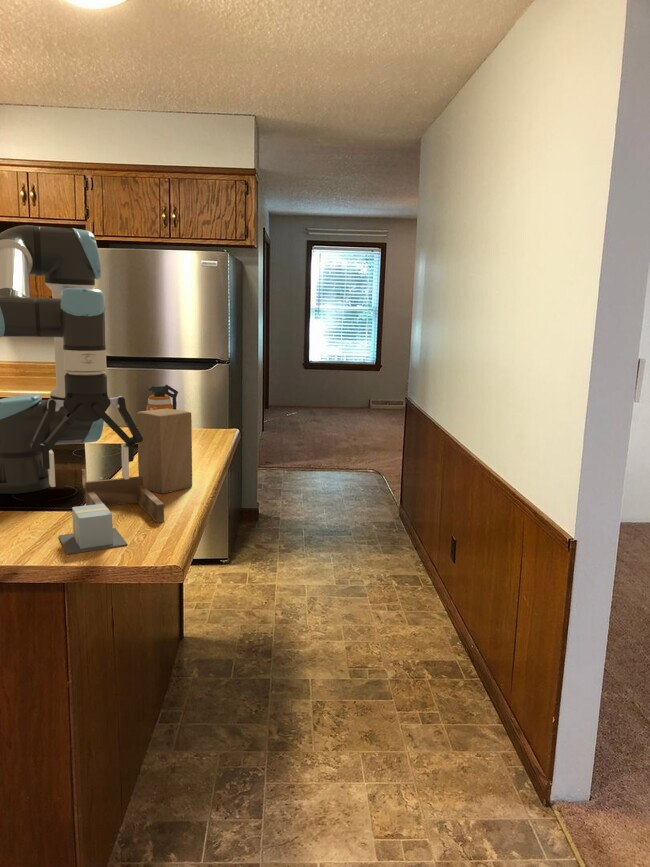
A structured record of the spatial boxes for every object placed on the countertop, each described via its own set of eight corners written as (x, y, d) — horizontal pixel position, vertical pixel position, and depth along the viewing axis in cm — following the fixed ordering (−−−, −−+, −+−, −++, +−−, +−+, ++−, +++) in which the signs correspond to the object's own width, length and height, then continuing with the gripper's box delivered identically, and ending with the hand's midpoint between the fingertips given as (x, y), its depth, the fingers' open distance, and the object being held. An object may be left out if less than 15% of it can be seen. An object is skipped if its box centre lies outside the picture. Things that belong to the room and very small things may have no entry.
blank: (73, 536, 127) (71, 507, 126) (104, 532, 130) (103, 503, 129) (80, 549, 120) (78, 518, 119) (113, 544, 123) (112, 514, 122)
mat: (58, 536, 127) (58, 535, 127) (115, 529, 133) (115, 527, 133) (67, 554, 118) (67, 553, 118) (127, 545, 123) (127, 544, 123)
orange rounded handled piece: (146, 438, 233) (145, 383, 230) (177, 437, 236) (176, 383, 233) (147, 442, 225) (146, 386, 221) (179, 441, 228) (178, 386, 225)
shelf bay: (86, 506, 148) (84, 481, 147) (142, 500, 154) (141, 476, 153) (102, 530, 132) (101, 502, 131) (164, 521, 138) (163, 494, 137)
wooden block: (169, 480, 173) (168, 408, 170) (193, 487, 167) (192, 412, 164) (138, 487, 166) (135, 411, 162) (161, 494, 159) (159, 415, 156)
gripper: (13, 376, 110) (21, 493, 114) (157, 373, 123) (159, 479, 127) (10, 371, 116) (17, 483, 121) (147, 369, 129) (149, 470, 133)
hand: (89, 481), depth 124 cm, fingers open, 13 cm apart
